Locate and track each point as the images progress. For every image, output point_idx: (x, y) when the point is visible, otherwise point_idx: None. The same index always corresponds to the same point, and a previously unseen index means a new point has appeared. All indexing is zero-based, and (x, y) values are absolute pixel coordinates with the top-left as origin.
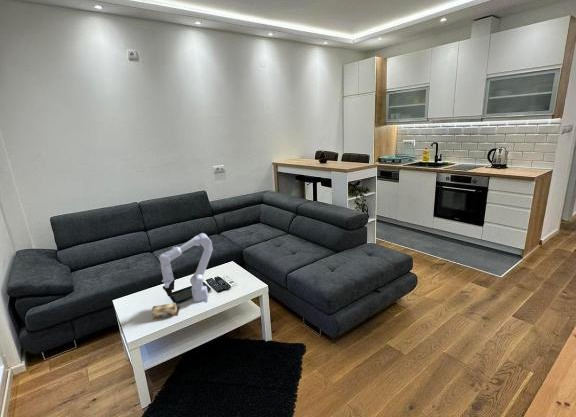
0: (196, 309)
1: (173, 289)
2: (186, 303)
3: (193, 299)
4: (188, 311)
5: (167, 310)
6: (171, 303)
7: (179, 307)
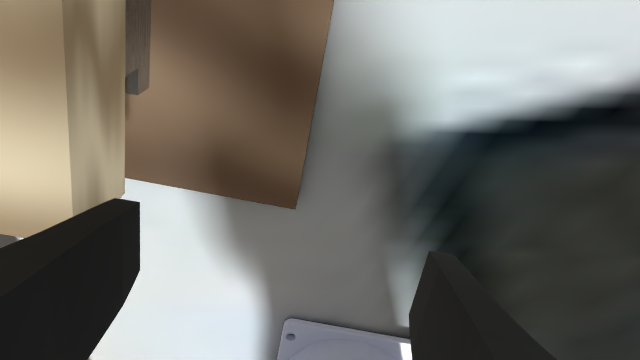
0: (159, 336)
1: (411, 317)
2: (342, 263)
3: (327, 357)
4: (148, 268)
5: None
6: (68, 181)
7: (251, 195)
